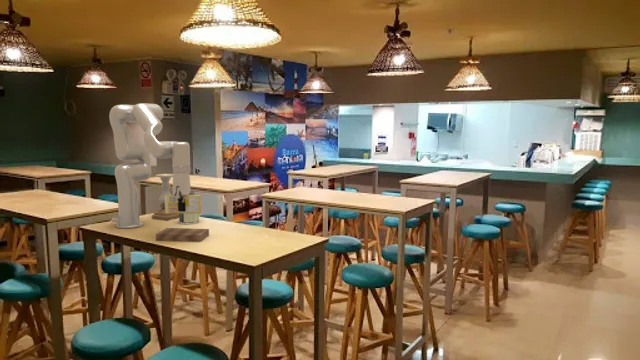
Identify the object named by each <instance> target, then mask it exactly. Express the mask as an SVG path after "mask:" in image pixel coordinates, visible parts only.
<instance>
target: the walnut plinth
mask: <svg viewBox="0 0 640 360" xmlns="http://www.w3.org/2000/svg"><path fill="white" fill-rule="evenodd" d="M209 236H210V229H209V228H187V227H184V228H183V227H182V228H181V227H180V228H179V227H165V228H164V229H162V230H161V231H158V232H156V233H155V241H157V242H158V241H160V242H162V241H163V242H190V243H191V242H192V243H193V242H194V243H195V242H196V243H201V242H202V241H203V240H205V239H206V238H208V237H209Z"/></svg>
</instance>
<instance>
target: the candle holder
mask: <svg viewBox="0 0 640 360" xmlns="http://www.w3.org/2000/svg"><path fill="white" fill-rule="evenodd" d="M155 177H156V178H159V180H160V181H161V182H162V183H161V185H160V188H161V189H162V192H161V194H160V196H159V198H158V201H159V202H160V203H161V204H160V209H158V211H155V212H153V215H151V218H152V219H153V220H160V221H167V222H168V221H172V220H176V219H179V213H165V196H164V195H172V193H171V192H170V189H171V184H170V180H171V179H172V178H173V173H157V174H155Z"/></svg>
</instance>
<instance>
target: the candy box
mask: <svg viewBox="0 0 640 360" xmlns="http://www.w3.org/2000/svg"><path fill="white" fill-rule="evenodd" d="M164 196H165V213H199V215H200V214H202V197H201V196H202V195H201V194H195V195H184V202H185V209H186V211H178V202H177V199H176V196H174V195H173V194H171V195H164Z"/></svg>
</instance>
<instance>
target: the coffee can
mask: <svg viewBox="0 0 640 360" xmlns="http://www.w3.org/2000/svg"><path fill="white" fill-rule="evenodd" d="M189 195H196V194H195V193H193V194H191V193H189ZM178 219H179V222H178V223H179V224H180V225H195V224H198V223H200V214H199V213H179V218H178Z"/></svg>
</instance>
